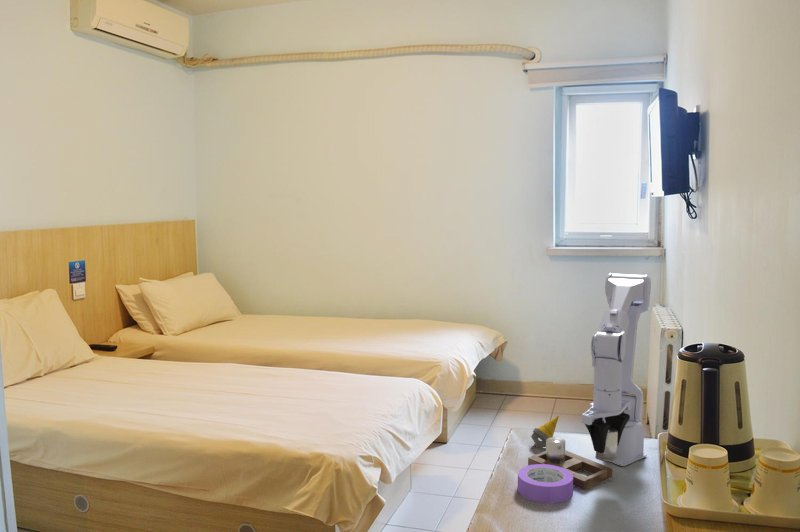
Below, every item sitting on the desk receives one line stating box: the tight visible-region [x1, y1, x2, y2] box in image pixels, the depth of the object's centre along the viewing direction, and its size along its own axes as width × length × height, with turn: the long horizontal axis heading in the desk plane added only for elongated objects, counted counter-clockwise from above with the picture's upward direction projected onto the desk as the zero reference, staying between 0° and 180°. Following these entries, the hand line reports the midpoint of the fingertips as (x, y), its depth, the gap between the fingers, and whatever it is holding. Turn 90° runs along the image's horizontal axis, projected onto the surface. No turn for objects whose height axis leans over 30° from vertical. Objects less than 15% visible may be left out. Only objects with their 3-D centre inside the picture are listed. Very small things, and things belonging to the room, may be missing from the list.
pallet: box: [527, 449, 614, 491], centre depth 161 cm, size 10×16×2 cm, turn 37°
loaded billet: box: [545, 436, 566, 464], centre depth 164 cm, size 4×4×6 cm
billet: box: [595, 427, 618, 462], centre depth 152 cm, size 4×4×6 cm
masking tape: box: [517, 464, 574, 504], centre depth 152 cm, size 12×12×4 cm
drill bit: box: [530, 415, 560, 448], centre depth 177 cm, size 5×5×10 cm
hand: (606, 448), depth 153 cm, fingers closed on billet, 4 cm apart
